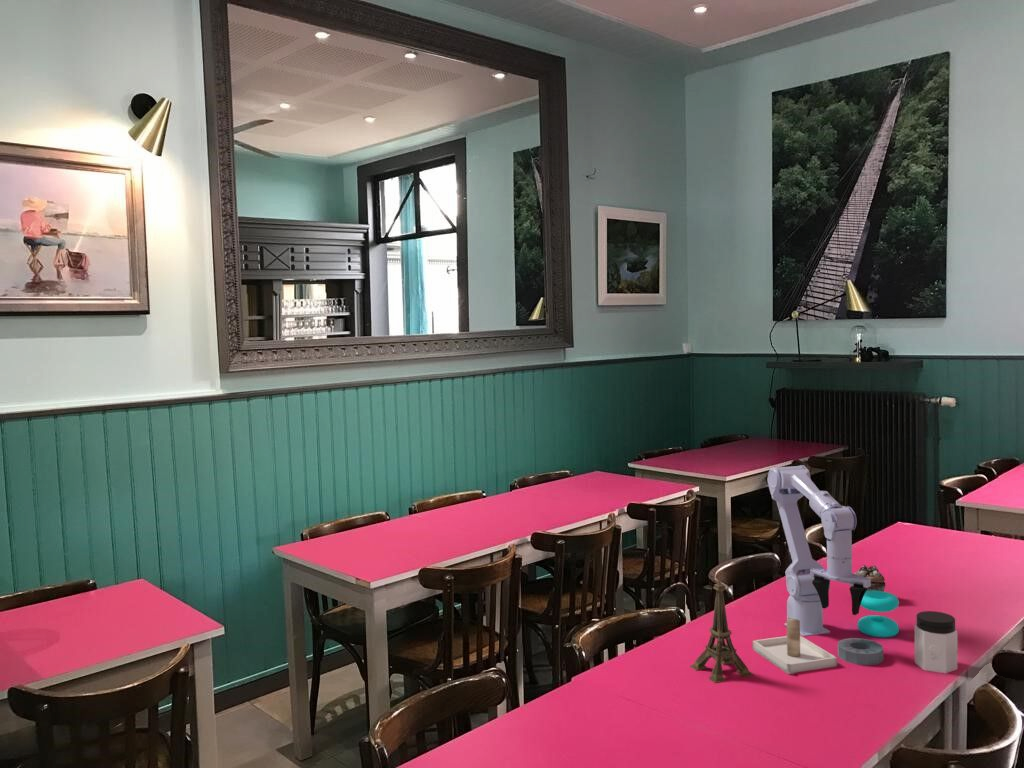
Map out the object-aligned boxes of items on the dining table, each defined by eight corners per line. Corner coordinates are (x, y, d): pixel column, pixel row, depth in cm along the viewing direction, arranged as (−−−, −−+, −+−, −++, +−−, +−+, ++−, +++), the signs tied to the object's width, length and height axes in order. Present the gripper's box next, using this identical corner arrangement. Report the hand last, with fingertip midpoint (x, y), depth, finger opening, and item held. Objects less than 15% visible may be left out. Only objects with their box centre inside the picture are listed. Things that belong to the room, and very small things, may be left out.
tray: (752, 649, 210) (752, 640, 210) (798, 643, 213) (798, 634, 213) (788, 674, 194) (788, 664, 194) (837, 667, 197) (837, 657, 197)
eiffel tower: (689, 666, 201) (687, 565, 199) (726, 659, 205) (724, 559, 203) (715, 683, 191) (712, 576, 189) (753, 675, 195) (751, 570, 193)
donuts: (853, 588, 224) (893, 589, 222) (854, 624, 224) (893, 626, 222) (861, 600, 214) (903, 601, 212) (861, 638, 215) (903, 640, 212)
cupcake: (878, 594, 248) (878, 561, 248) (890, 605, 239) (889, 570, 238) (845, 594, 249) (845, 561, 249) (855, 605, 240) (855, 570, 239)
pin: (784, 653, 205) (784, 619, 204) (796, 651, 205) (795, 618, 205) (790, 657, 202) (790, 623, 201) (802, 656, 202) (802, 622, 202)
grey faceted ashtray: (829, 652, 206) (829, 641, 206) (864, 647, 208) (864, 636, 208) (855, 668, 196) (855, 656, 196) (892, 662, 199) (892, 650, 198)
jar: (913, 670, 194) (913, 619, 193) (916, 657, 201) (915, 608, 201) (956, 676, 190) (956, 625, 189) (957, 663, 197) (957, 613, 196)
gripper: (803, 554, 207) (804, 608, 208) (861, 564, 197) (862, 621, 198) (817, 549, 212) (817, 601, 213) (874, 558, 202) (874, 613, 203)
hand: (840, 610), depth 206 cm, fingers open, 7 cm apart
